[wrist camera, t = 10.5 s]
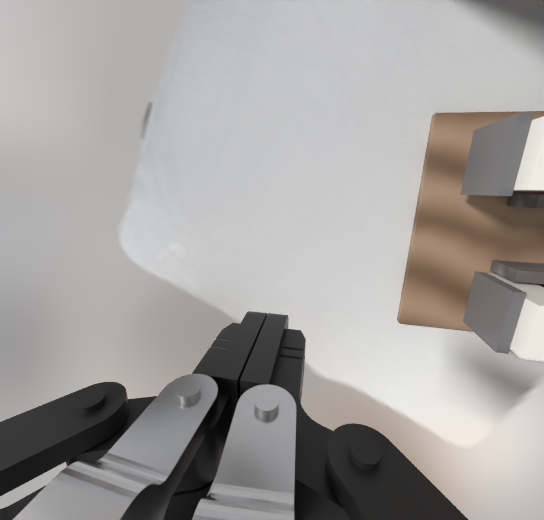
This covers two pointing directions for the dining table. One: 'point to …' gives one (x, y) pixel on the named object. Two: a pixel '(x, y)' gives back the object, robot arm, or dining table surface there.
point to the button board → (465, 229)
